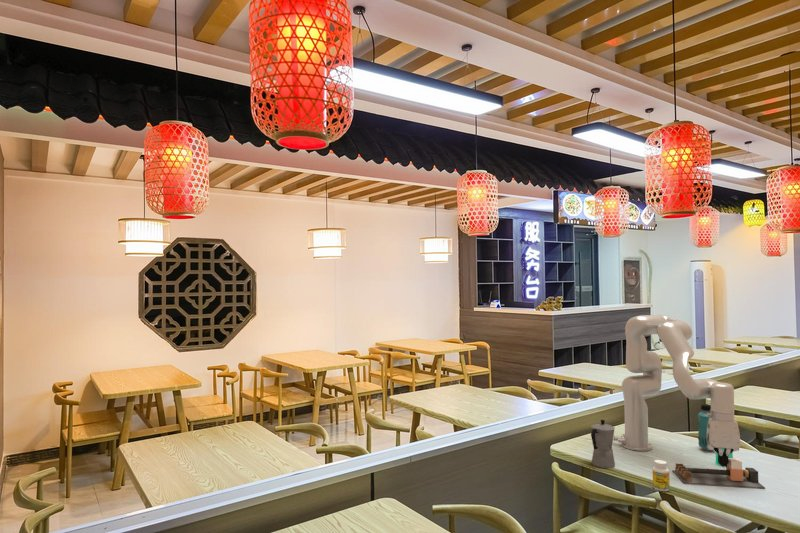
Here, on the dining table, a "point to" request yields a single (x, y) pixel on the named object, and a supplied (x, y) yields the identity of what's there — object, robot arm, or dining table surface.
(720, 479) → the linear slide rail
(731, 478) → the orange block
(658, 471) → the supplement bottle
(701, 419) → the beverage bottle
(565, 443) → the dining table surface
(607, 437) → the coffeepot
